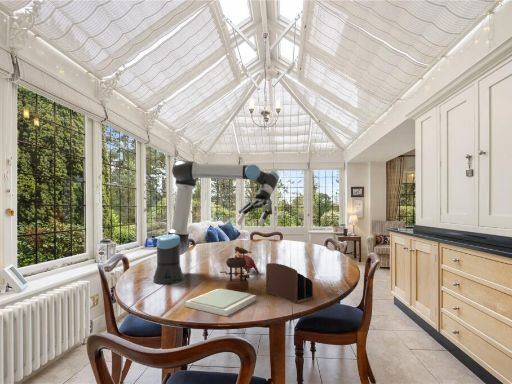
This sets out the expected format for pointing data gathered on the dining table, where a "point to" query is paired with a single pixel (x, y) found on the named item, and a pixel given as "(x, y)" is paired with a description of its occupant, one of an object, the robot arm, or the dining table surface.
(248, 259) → the red winged figure
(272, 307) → the dining table surface
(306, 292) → the letter holder
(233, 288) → the music box
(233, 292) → the display stand
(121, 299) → the dining table surface
